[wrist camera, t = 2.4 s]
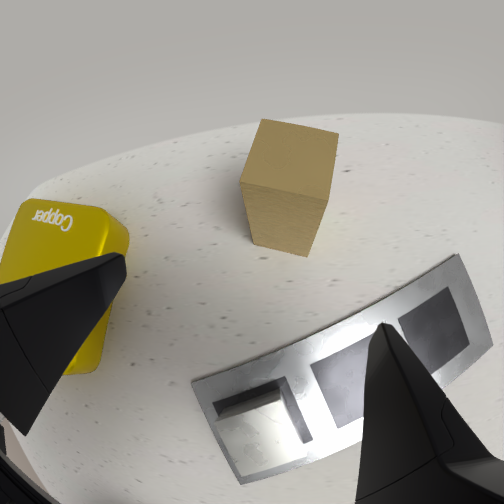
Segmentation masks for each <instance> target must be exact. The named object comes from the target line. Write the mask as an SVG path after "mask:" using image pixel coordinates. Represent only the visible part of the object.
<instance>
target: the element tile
mask: <svg viewBox="0 0 504 504" xmlns="http://www.w3.org/2000/svg"><path fill="white" fill-rule="evenodd" d="M128 246H129V233H128V230H127V228H126V227H124V226H123V225H122V224H121V223H120V222H118V221H117V220H116V219H115V218H114V217H112V216H111V215H110V214H109V213H108V212H106V211H105V210H104V209H102V208H99V207H94V206H86V205H79V204H72V203H64V202H57V201H49V200H41V199H33V198H32V199H28V200H26V201H25V202H23V203H22V204H21V206H20V208H19V210H18V212H17V214H16V217H15V219H14V222H13V225H12V227H11V230H10V233H9V236H8V239H7V242H6V246H5V249H4V252H3V256H2V259H1V263H0V284H4V283H7V282H11V281H15V280H18V279H22V278H25V277H28V276H33V275H35V274H38V273H42V272H45V271H48V270H52V269H55V268H58V267H62V266H65V265H69V264H72V263H76V262H79V261H83V260H86V259H90V258H93V257H97V256H101V255H104V254H108V253H112V252H117V253H120V254H123V255H124V257H125V256H126V253H127V250H128ZM112 303H113V301H112ZM112 303H111V304H110V306H109V307H108V309H107V311H106V312H105V314H104V315H103V316H102V318H101V319H100V320H99V322H98V323H97V325H96V326H95V327H94V329H93V330H92V332H91V333H90V334H89V336H88V337H87V339H86V340H85V342H84V343H83V344H82V346H81V347H80V349H79V350H78V352H77V353H76V355H75V356H74V358H73V359H72V361H71V362H70V364H69V365H68V367H67V368H66V370H65V371H64V373H63V375H73V374H84V373H91V372H93V371H94V370H95V369H96V368H97V366H98V365H99V362H100V360H101V354H102V349H103V344H104V339H105V334H106V329H107V324H108V320H109V316H110V311H111V307H112Z"/></svg>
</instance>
